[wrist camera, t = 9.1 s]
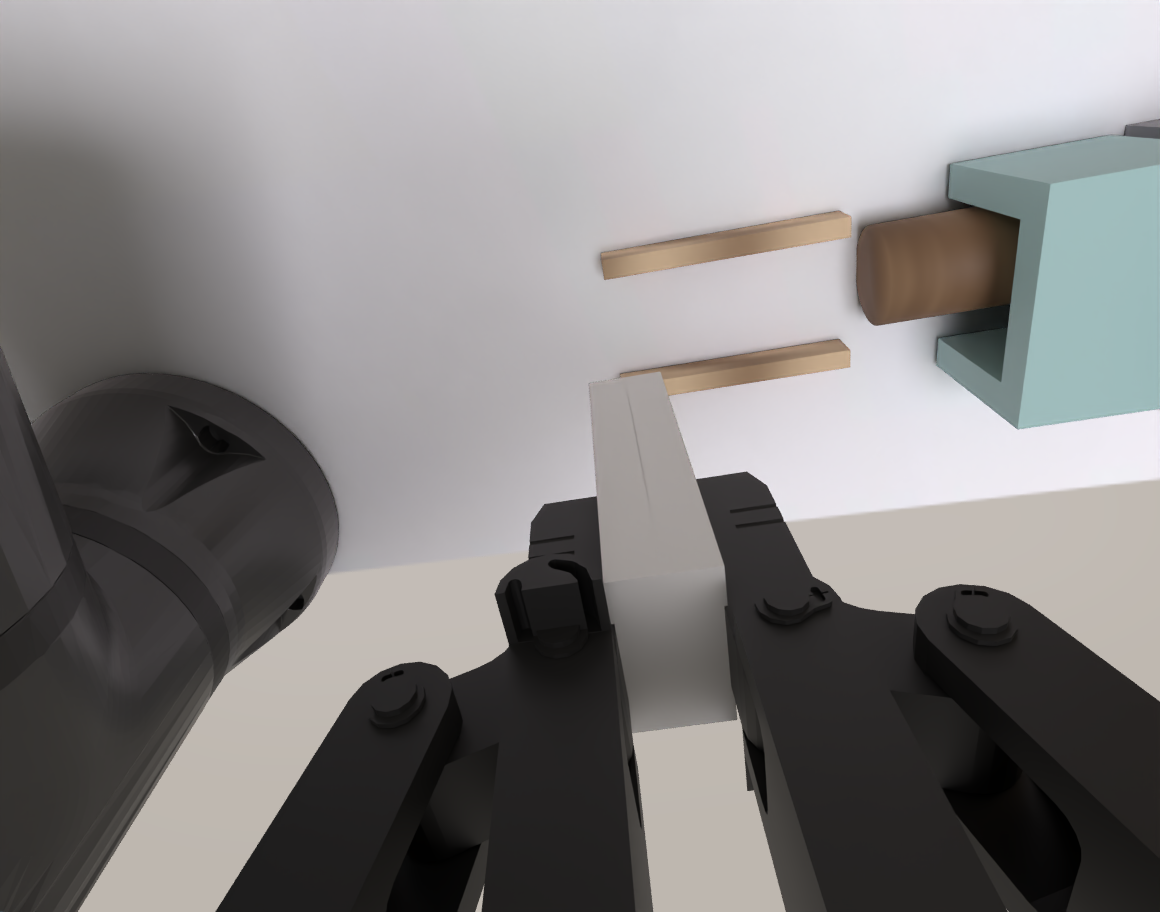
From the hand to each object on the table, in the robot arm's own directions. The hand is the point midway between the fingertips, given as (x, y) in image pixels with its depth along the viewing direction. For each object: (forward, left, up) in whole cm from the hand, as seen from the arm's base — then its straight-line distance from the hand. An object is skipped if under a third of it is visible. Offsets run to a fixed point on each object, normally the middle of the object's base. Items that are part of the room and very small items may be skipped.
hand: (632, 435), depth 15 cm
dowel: (+14, -3, -17) cm, 22 cm away
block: (+17, -3, -17) cm, 24 cm away
